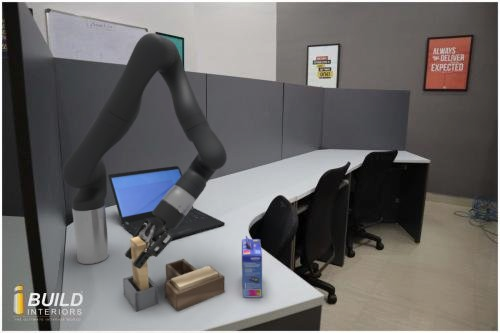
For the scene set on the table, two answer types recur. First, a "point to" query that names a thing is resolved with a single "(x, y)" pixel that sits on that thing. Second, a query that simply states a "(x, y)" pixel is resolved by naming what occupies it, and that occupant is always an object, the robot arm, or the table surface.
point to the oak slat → (142, 274)
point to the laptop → (153, 200)
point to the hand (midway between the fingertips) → (132, 261)
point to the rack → (194, 293)
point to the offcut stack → (193, 278)
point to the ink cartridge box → (252, 268)
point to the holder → (140, 294)
